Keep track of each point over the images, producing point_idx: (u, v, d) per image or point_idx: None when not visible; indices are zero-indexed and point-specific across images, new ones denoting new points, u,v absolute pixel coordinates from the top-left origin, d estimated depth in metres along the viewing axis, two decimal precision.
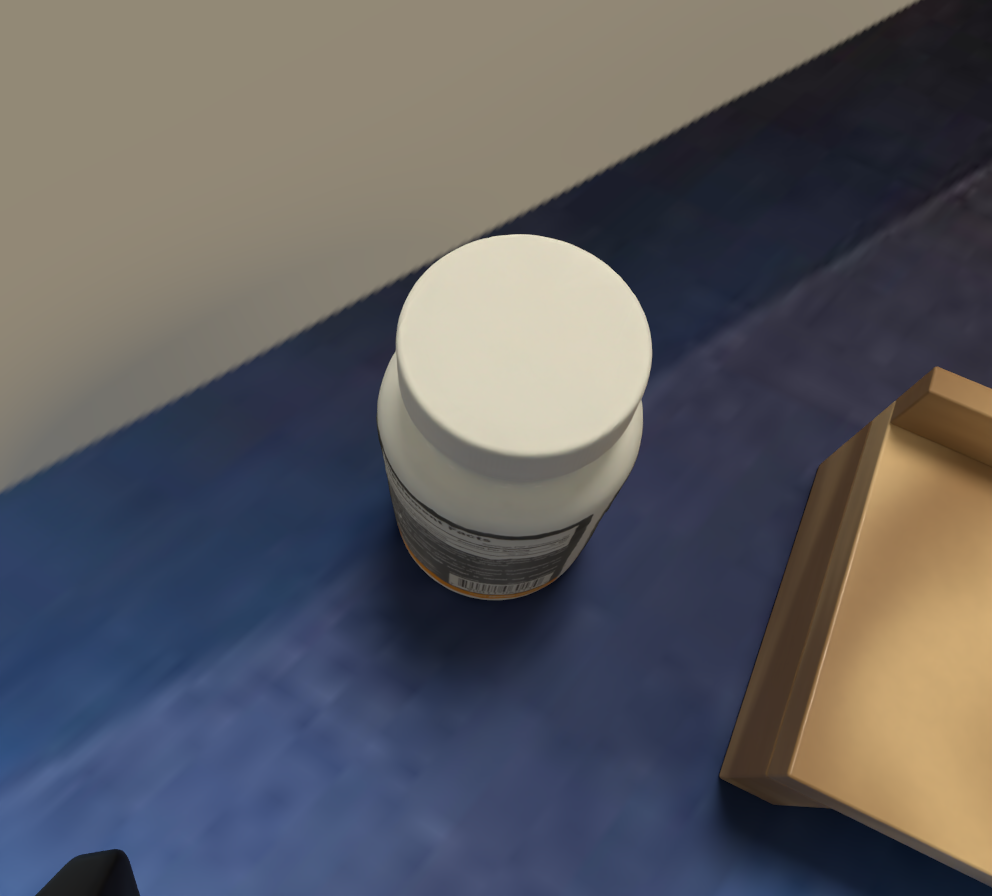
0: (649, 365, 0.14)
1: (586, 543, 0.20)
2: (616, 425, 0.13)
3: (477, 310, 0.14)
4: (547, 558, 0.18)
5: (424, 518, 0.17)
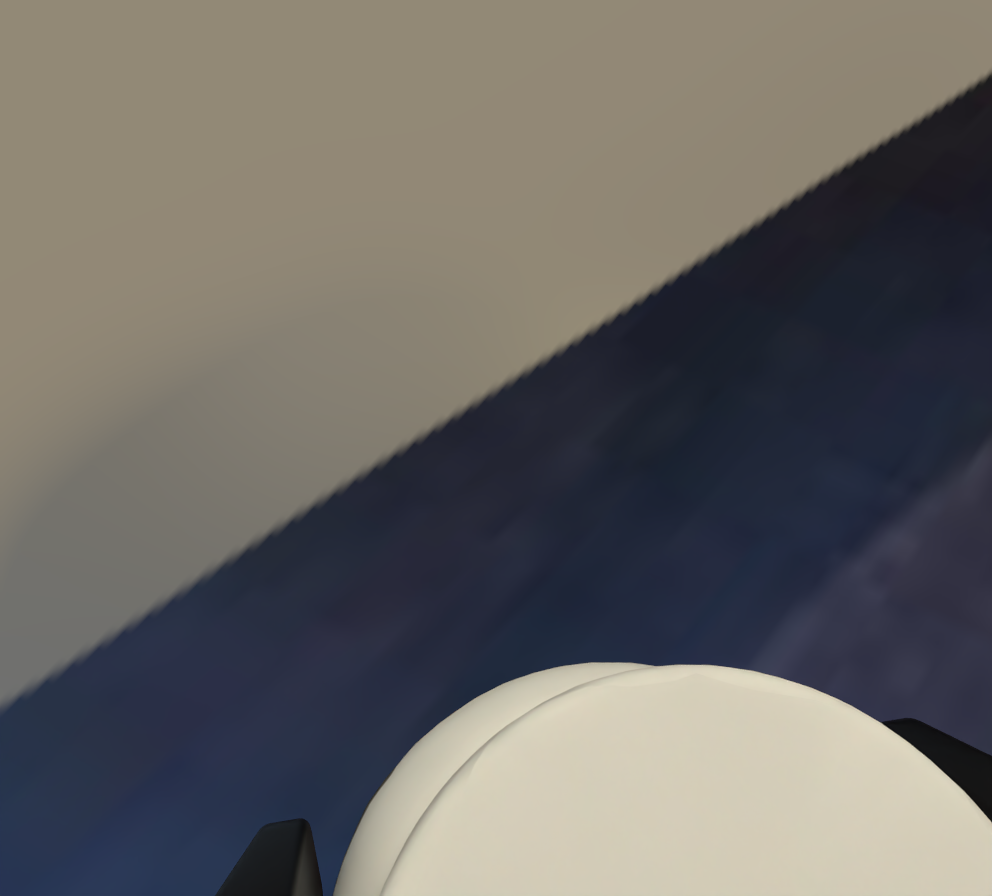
0: None
1: None
2: None
3: None
4: None
5: None
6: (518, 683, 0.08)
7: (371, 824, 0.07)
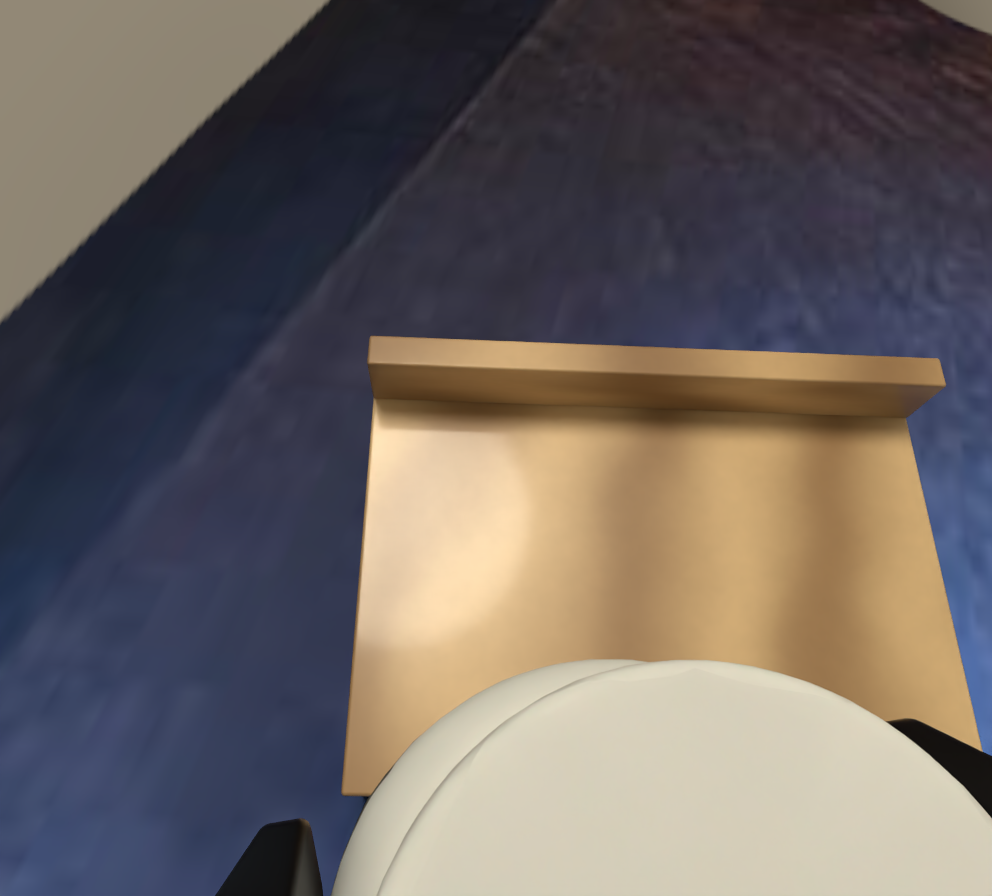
0: None
1: None
2: None
3: None
4: None
5: None
6: (517, 680, 0.08)
7: (370, 821, 0.07)
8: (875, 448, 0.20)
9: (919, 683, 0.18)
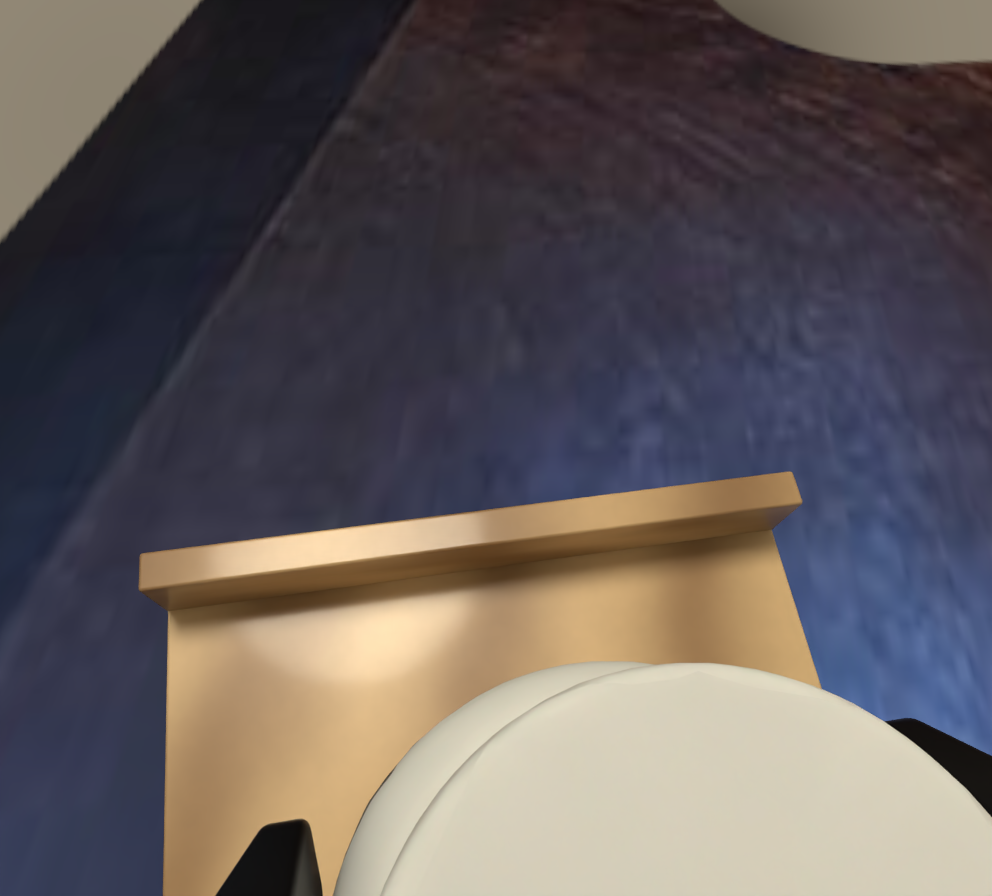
0: None
1: None
2: None
3: None
4: None
5: None
6: (519, 682, 0.08)
7: (371, 823, 0.07)
8: (742, 571, 0.18)
9: None
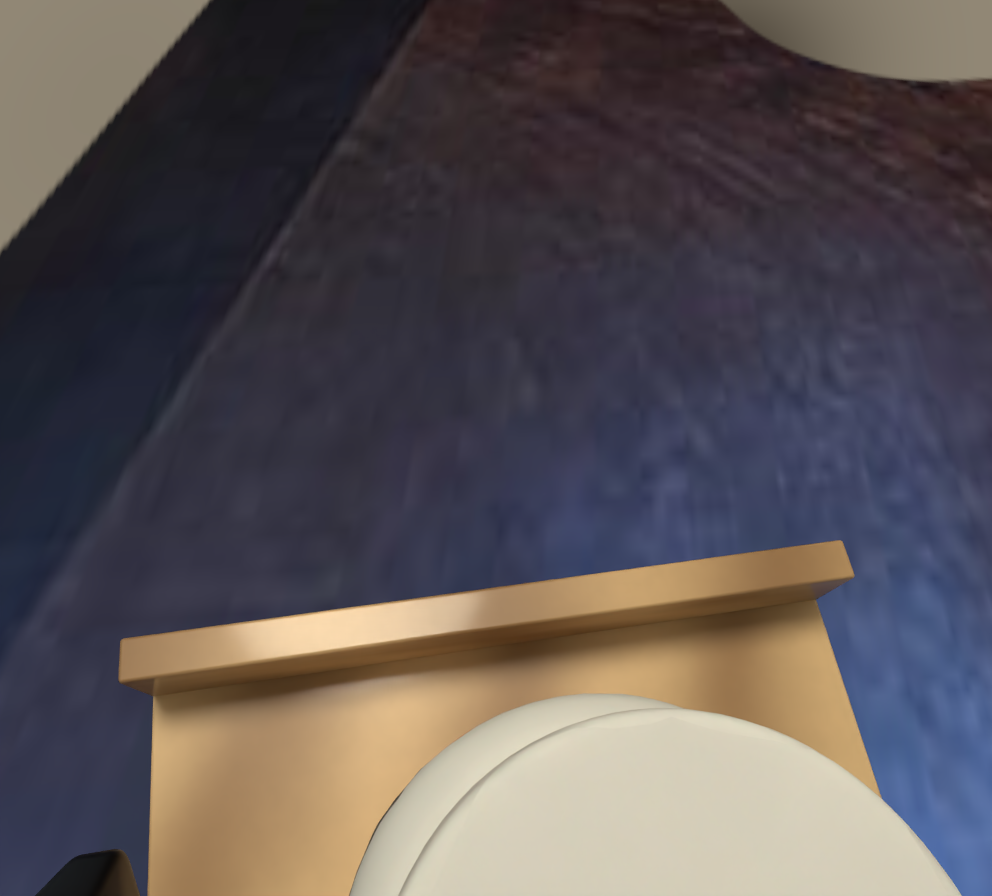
0: None
1: None
2: None
3: None
4: None
5: None
6: (516, 713, 0.09)
7: (381, 843, 0.08)
8: (785, 646, 0.16)
9: None
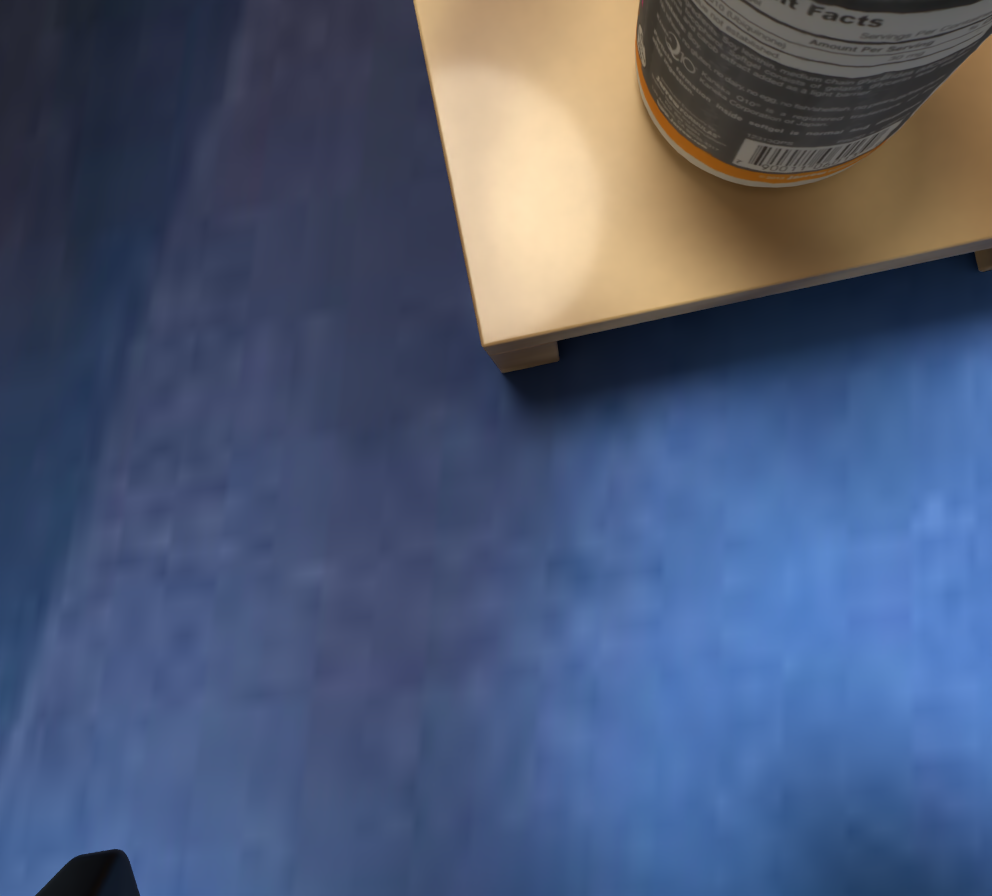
0: None
1: None
2: None
3: None
4: (934, 72, 0.11)
5: (753, 11, 0.10)
6: None
7: None
8: None
9: None
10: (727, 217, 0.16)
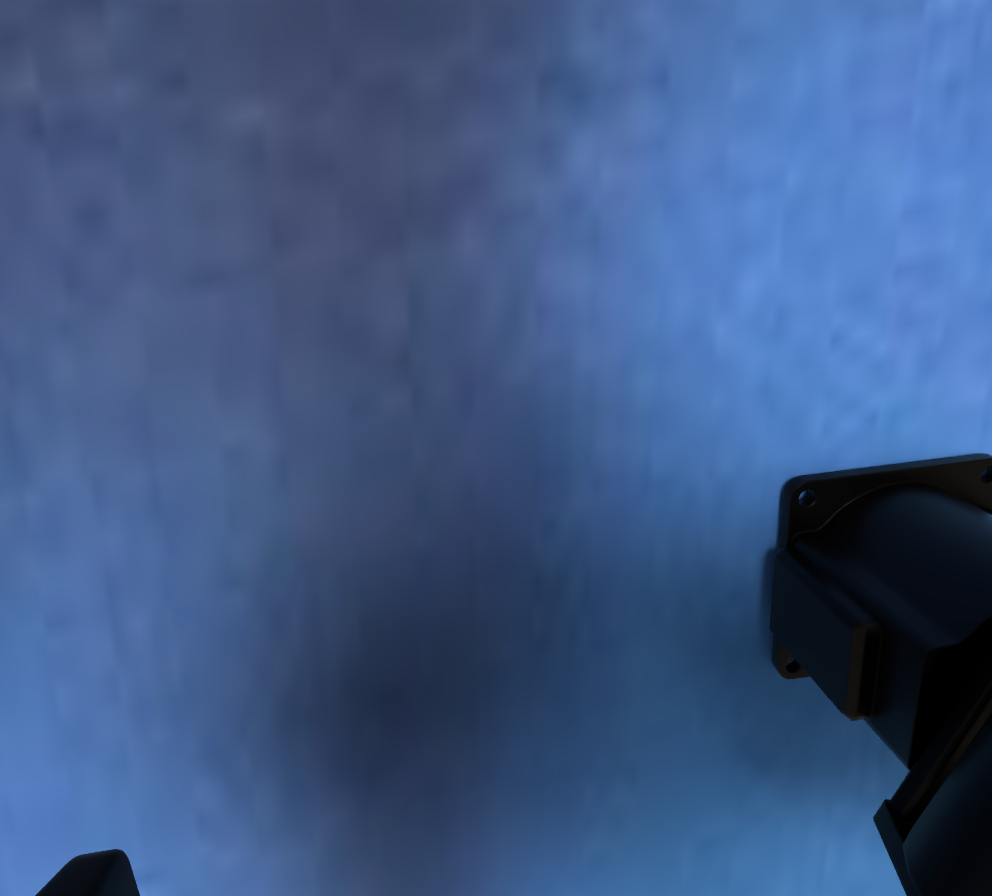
0: None
1: None
2: None
3: None
4: None
5: None
6: None
7: None
8: None
9: None
10: None
